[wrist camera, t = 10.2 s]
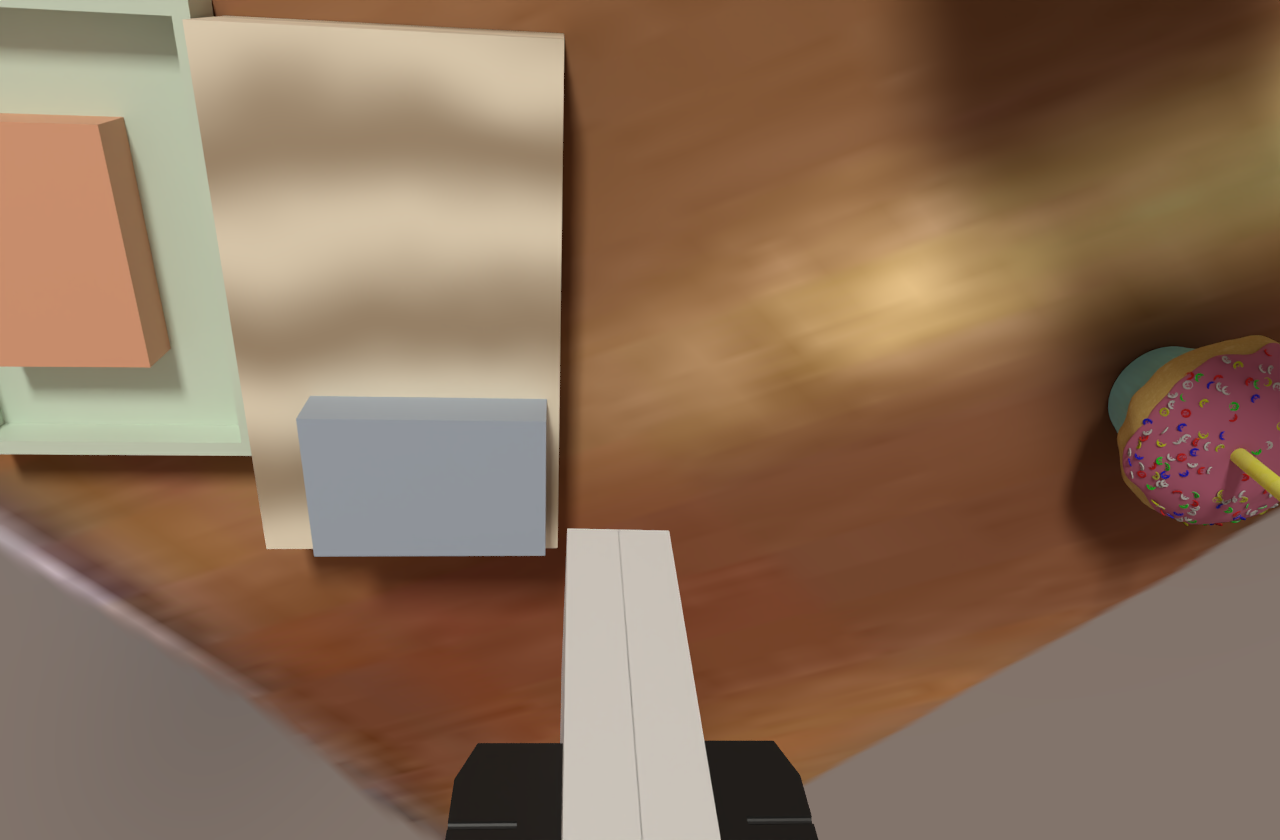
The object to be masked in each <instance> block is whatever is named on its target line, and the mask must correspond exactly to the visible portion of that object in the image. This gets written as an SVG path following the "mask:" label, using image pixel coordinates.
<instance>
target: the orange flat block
mask: <svg viewBox="0 0 1280 840" xmlns="http://www.w3.org/2000/svg"><path fill="white" fill-rule="evenodd" d="M170 349H171V347H170V342H169V337H168V332H167V327H166V323H165V318H164V313H163V308H162V303H161V298H160V293H159V288H158V283H157V278H156V274H155V269H154V264H153V259H152V254H151V249H150V244H149V239H148V234H147V230H146V225H145V220H144V215H143V210H142V205H141V200H140V195H139V190H138V185H137V181H136V176H135V171H134V166H133V161H132V156H131V151H130V146H129V141H128V136H127V132H126V127H125V122H124V117H108V116H76V115H45V114H13V113H0V367H144V368H151V367H152V366H153V365H154V364H155V363H156V362H157V361H158V360H159V359H160V358H161V357H162V356H163V355H164V354H166V353H167V352H168V351H169V350H170Z"/></svg>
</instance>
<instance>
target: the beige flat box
mask: <svg viewBox="0 0 1280 840" xmlns="http://www.w3.org/2000/svg"><path fill="white" fill-rule="evenodd" d="M182 21H183V27H184V34H185V40H186V46H187V53H188V59H189V65H190V71H191V78H192V84H193V90H194V96H195V103H196V109H197V115H198V122H199V128H200V134H201V140H202V147H203V153H204V159H205V166H206V172H207V178H208V184H209V191H210V197H211V203H212V209H213V216H214V222H215V228H216V235H217V241H218V247H219V253H220V260H221V266H222V272H223V279H224V285H225V291H226V297H227V304H228V310H229V316H230V323H231V329H232V335H233V341H234V348H235V354H236V360H237V366H238V373H239V379H240V385H241V392H242V398H243V404H244V410H245V417H246V423H247V429H248V436H249V442H250V448H251V454H252V461H253V467H254V473H255V479H256V486H257V492H258V498H259V505H260V511H261V517H262V523H263V530H264V536H265V542H266V549H313V544H312V537H311V529H310V521H309V514H308V506H307V499H306V491H305V483H304V476H303V468H302V461H301V453H300V445H299V438H298V430H297V423H296V418H297V416H298V415H299V413H300V411H301V410H302V408H303V407H304V405H305V403H306V402H307V400H308V398H309V397H310V396H355V397H432V398H509V399H547V444H546V547H545V548H558V482H559V406H560V331H561V255H562V179H563V104H564V33H546V32H527V31H508V30H489V29H470V28H451V27H432V26H413V25H394V24H375V23H356V22H337V21H318V20H298V19H279V18H260V17H241V16H216V17H204V18H193V19H182Z"/></svg>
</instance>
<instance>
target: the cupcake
mask: <svg viewBox="0 0 1280 840" xmlns="http://www.w3.org/2000/svg"><path fill="white" fill-rule="evenodd" d="M1108 411H1109V416H1110V419H1111V422H1112V424H1113V426H1114V427H1115V429H1116V431H1117V433H1118V435H1117V443H1118V448H1119V454H1120V467H1121V473H1122V477H1123V480H1124V482H1125V483H1126V485H1127V486H1128V487H1129V488H1130V489H1131V490H1132V491H1133V492H1134V493H1135V495H1136V496H1137V497H1138V498H1139V499H1140V500H1141V501H1142V502H1143V503H1144V504H1145V505H1147V506H1148V507H1150V508H1151V509H1153V510H1155V511H1157V512H1158V513H1160V514H1163V516H1168V517H1171V518H1174V519H1176V520H1177V521H1180V522H1183V523H1184V524H1185V525H1186V526H1188V524H1203V525H1208V524H1210V525H1213V524H1216V525H1219V526H1222V524H1221V523H1222V522H1229V521H1231V522H1232V523H1237V522H1240V521H1241V520H1240V519H1242V520H1246V518H1248V517H1252V516H1255V515H1257V514H1260V515H1261V514H1264V513H1265V512H1267V509H1269V508H1275V507H1277V506H1278V505H1279V504H1277V503H1278V502H1280V343H1278V342H1276V341H1274V340H1272V339H1270V338H1268V337H1265V336H1261V335H1251V336H1247V337H1243V338H1238V339H1233V340H1227V341H1223V342H1219V343H1215V344H1211V345H1207V346H1204V347H1200V348H1197V349H1193V348H1185V347H1179V346H1169V347H1162V348H1158V349H1155V350H1152V351H1149V352H1147V353H1145V354H1143V355H1141V356H1140V357H1138V358H1137V359H1135V360H1134V361H1133V362H1131V363H1130V364H1129V365H1128V366H1127V367H1126V368H1125V369H1124V370H1123V371H1122V372H1121V374H1120V375H1119V376H1118V378H1117V379H1116V381H1115V383H1114V385H1113V387H1112V389H1111V392H1110V396H1109V401H1108ZM1236 520H1238V521H1236Z"/></svg>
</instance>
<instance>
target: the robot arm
mask: <svg viewBox="0 0 1280 840" xmlns="http://www.w3.org/2000/svg"><path fill="white" fill-rule="evenodd" d="M445 840H818V838H817V834H816V831H815V827H814V824H812V821H811V812H810V809H809V805H808V802H807V798H806V795H805V791H804V787H803V784H802V780H801V777H800V775H799V773H798V772H797V771H796V769H795V768H794V767H793V766H792V764H791V763H790V762H789V760H788V759H787V758H786V756H785V755H784V754H783V752H782V751H781V750H780V749H779V747H778V746H777V745H776V743H775V742H774V741H704V736H703V730H702V725H701V719H700V713H699V707H698V701H697V695H696V689H695V683H694V677H693V671H692V665H691V659H690V653H689V647H688V641H687V635H686V629H685V623H684V617H683V611H682V605H681V599H680V594H679V588H678V582H677V576H676V570H675V564H674V558H673V552H672V546H671V540H670V534H669V531H659V530H612V529H567V547H566V573H565V599H564V625H563V651H562V683H561V733H560V743H478V744H477V745H476V747H475V749H474V750H473V752H472V753H471V755H470V756H469V758H468V759H467V761H466V762H465V764H464V765H463V767H462V769H461V770H460V772H459V773H458V775H457V776H456V778H455V779H454V786H453V792H452V799H451V806H450V812H449V819H448V830H447V832H446V839H445Z"/></svg>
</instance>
